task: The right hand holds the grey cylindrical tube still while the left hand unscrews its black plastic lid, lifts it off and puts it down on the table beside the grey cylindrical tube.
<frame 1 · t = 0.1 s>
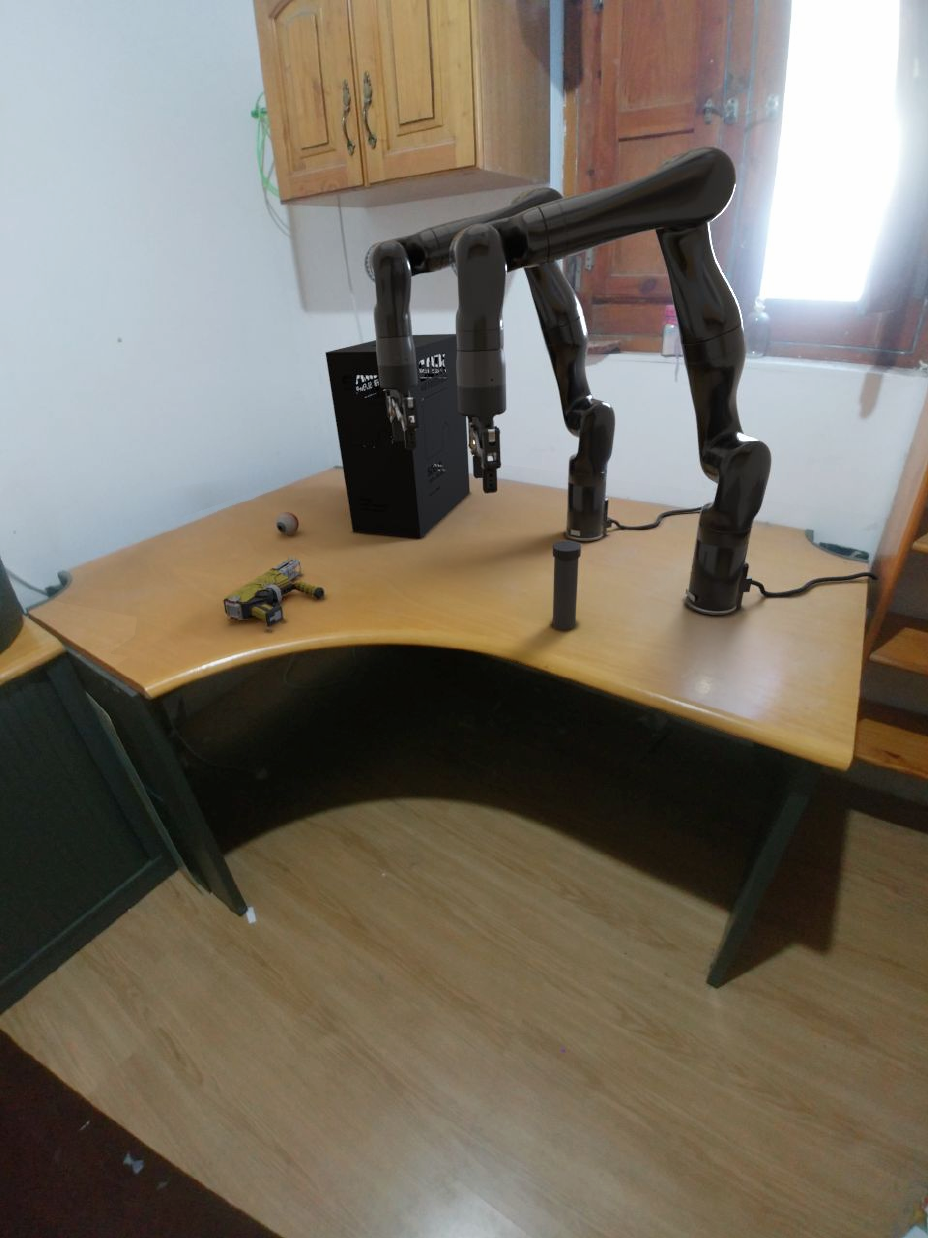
left hand: (404, 444, 126), 29 cm above the table, tool pointing down, fingers open, 8 cm apart
right hand: (484, 484, 100), 29 cm above the table, tool pointing down, fingers open, 8 cm apart
lid: (566, 547, 108), point 16 cm above the table, screwed on, not yet turned
eyeball: (289, 534, 165), on the table
grey cylindrical tube: (563, 624, 116), on the table
toy gun: (287, 600, 131), on the table
cardboard box: (415, 511, 176), on the table
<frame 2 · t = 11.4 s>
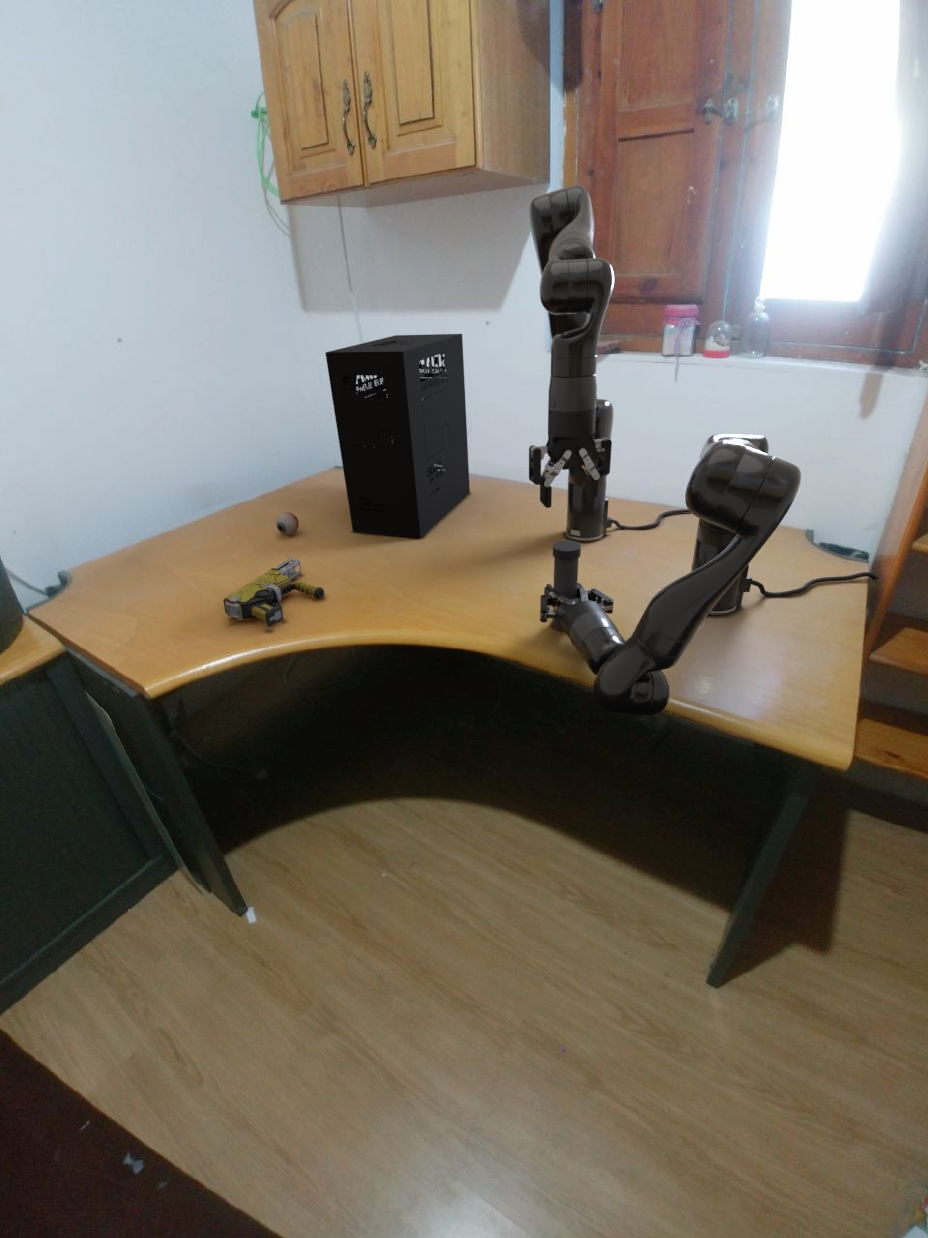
left hand: (568, 503, 104), 24 cm above the table, tool pointing down, fingers open, 7 cm apart
right hand: (560, 586, 115), 7 cm above the table, tool horizontal, fingers closed on grey cylindrical tube, 4 cm apart
grey cylindrical tube: (563, 624, 116), on the table, touching right hand
everything else where it was.
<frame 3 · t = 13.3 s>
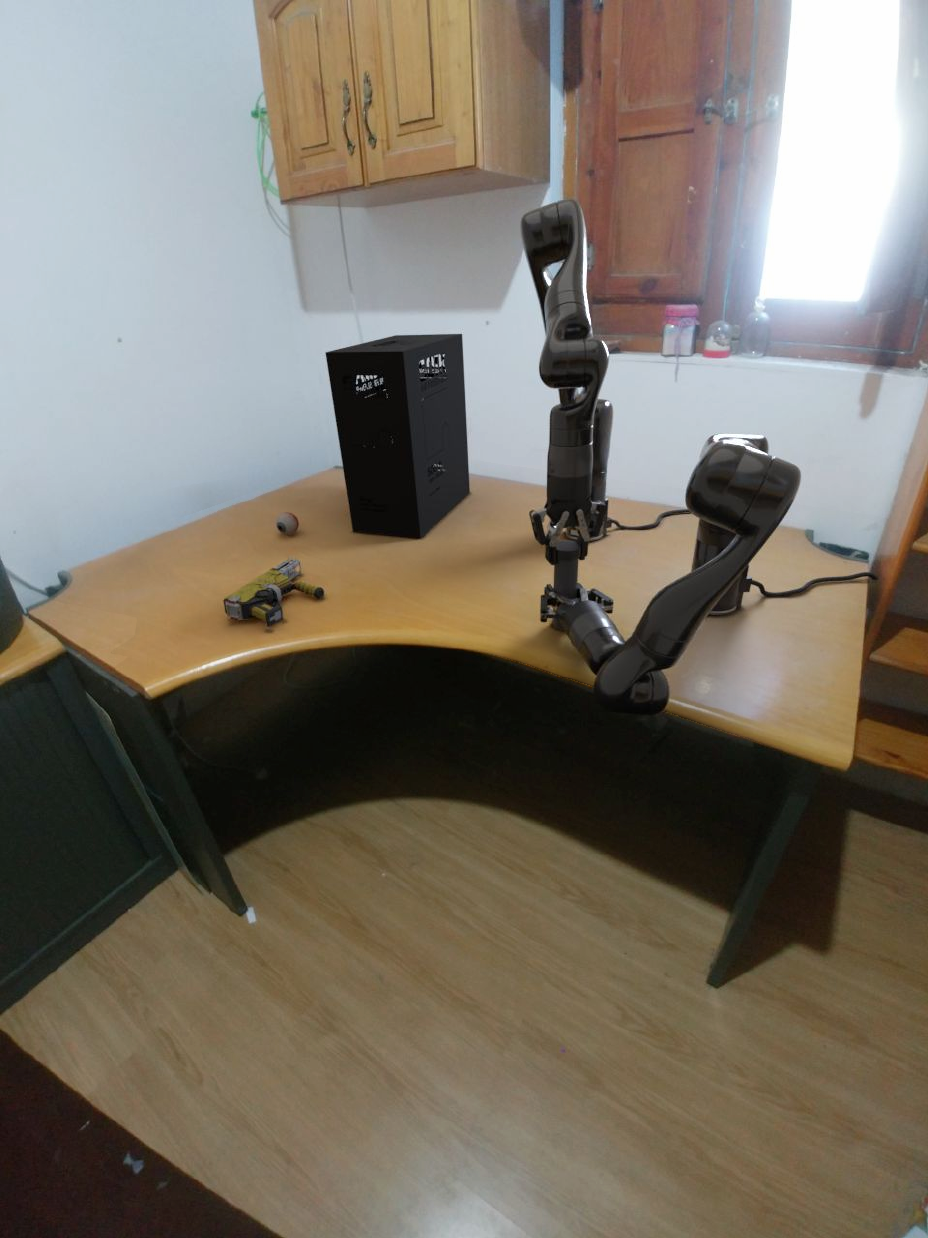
left hand: (566, 560, 110), 13 cm above the table, tool pointing down, fingers closed on lid, 5 cm apart
right hand: (560, 586, 115), 7 cm above the table, tool horizontal, fingers closed on grey cylindrical tube, 4 cm apart
lid: (566, 547, 108), point 16 cm above the table, screwed on, not yet turned, touching left hand
grey cylindrical tube: (563, 624, 116), on the table, touching right hand
everything else where it was.
when the left hand's fingers open (14 cm above the table, at t = 14.9 s): lid stays where it is, point 16 cm above the table.
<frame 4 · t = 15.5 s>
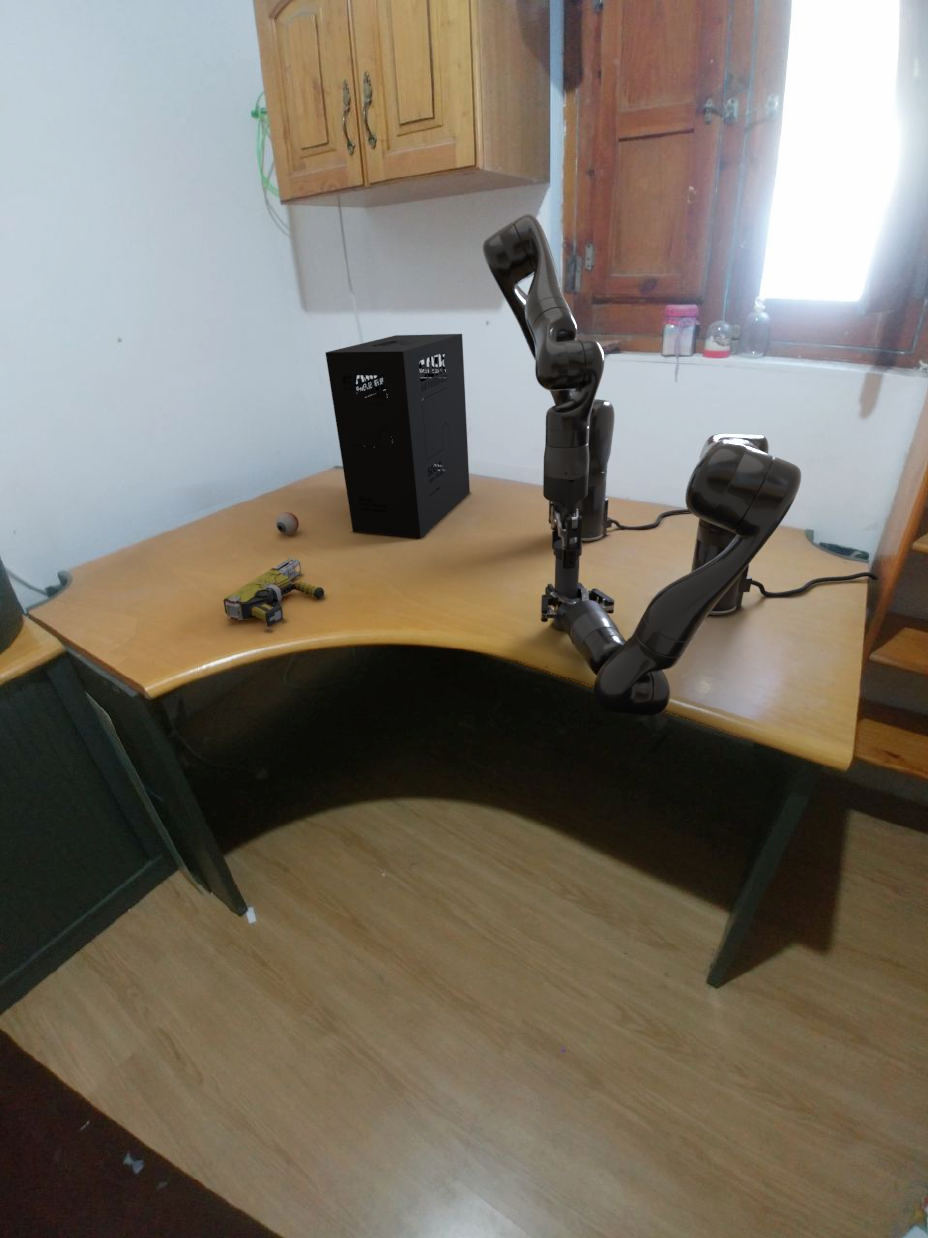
left hand: (563, 558, 110), 14 cm above the table, tool pointing down, fingers open, 7 cm apart
right hand: (561, 586, 115), 7 cm above the table, tool horizontal, fingers closed on grey cylindrical tube, 4 cm apart
lid: (567, 545, 108), point 16 cm above the table, turned 102° so far, risen 0.2 cm, still on its thread
grey cylindrical tube: (564, 624, 116), on the table, touching right hand
everything else where it was.
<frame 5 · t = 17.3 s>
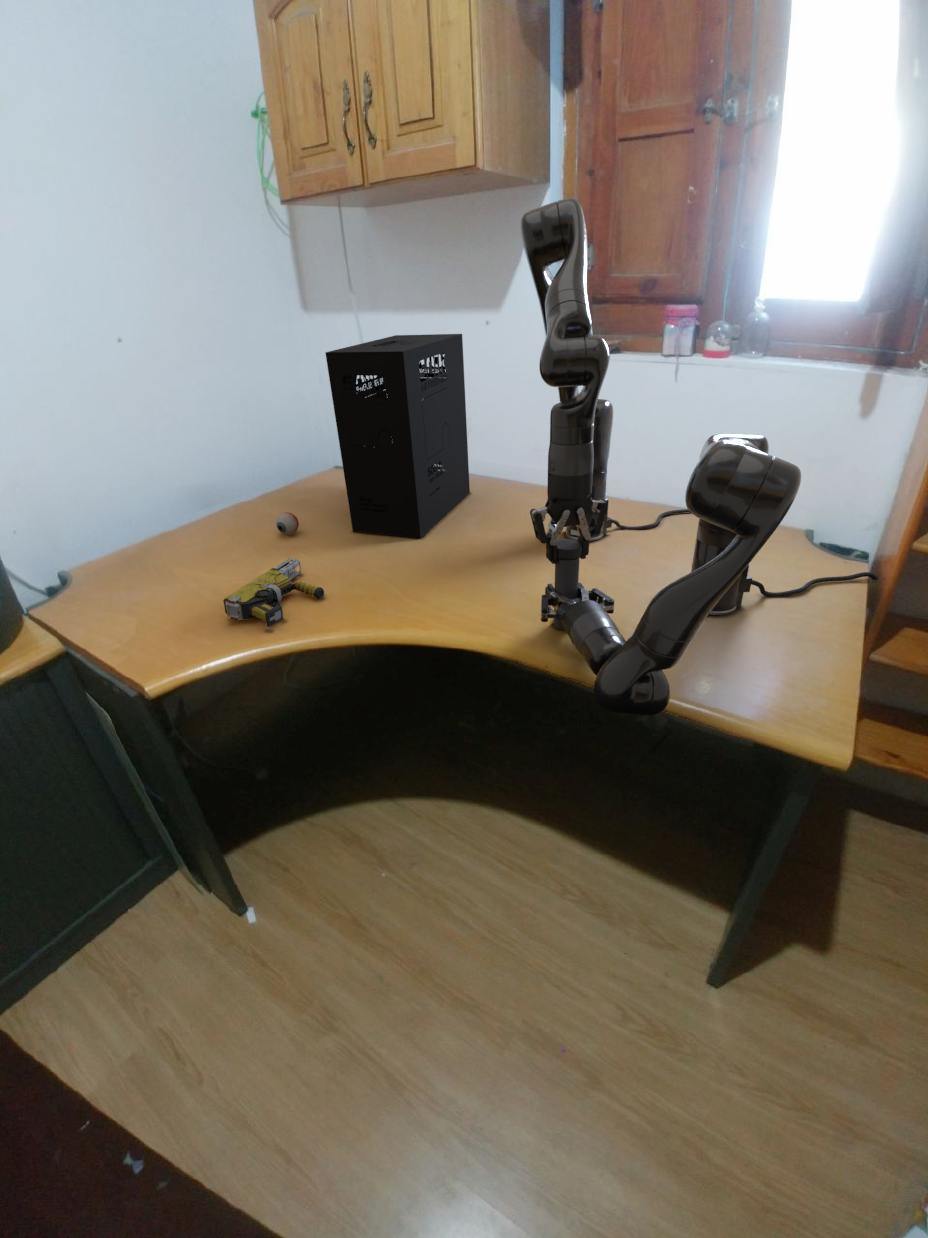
left hand: (567, 559, 110), 14 cm above the table, tool pointing down, fingers closed on lid, 5 cm apart
right hand: (561, 586, 115), 7 cm above the table, tool horizontal, fingers closed on grey cylindrical tube, 4 cm apart
lid: (567, 545, 108), point 16 cm above the table, turned 102° so far, risen 0.2 cm, still on its thread, touching left hand
grey cylindrical tube: (564, 624, 116), on the table, touching right hand
everything else where it was.
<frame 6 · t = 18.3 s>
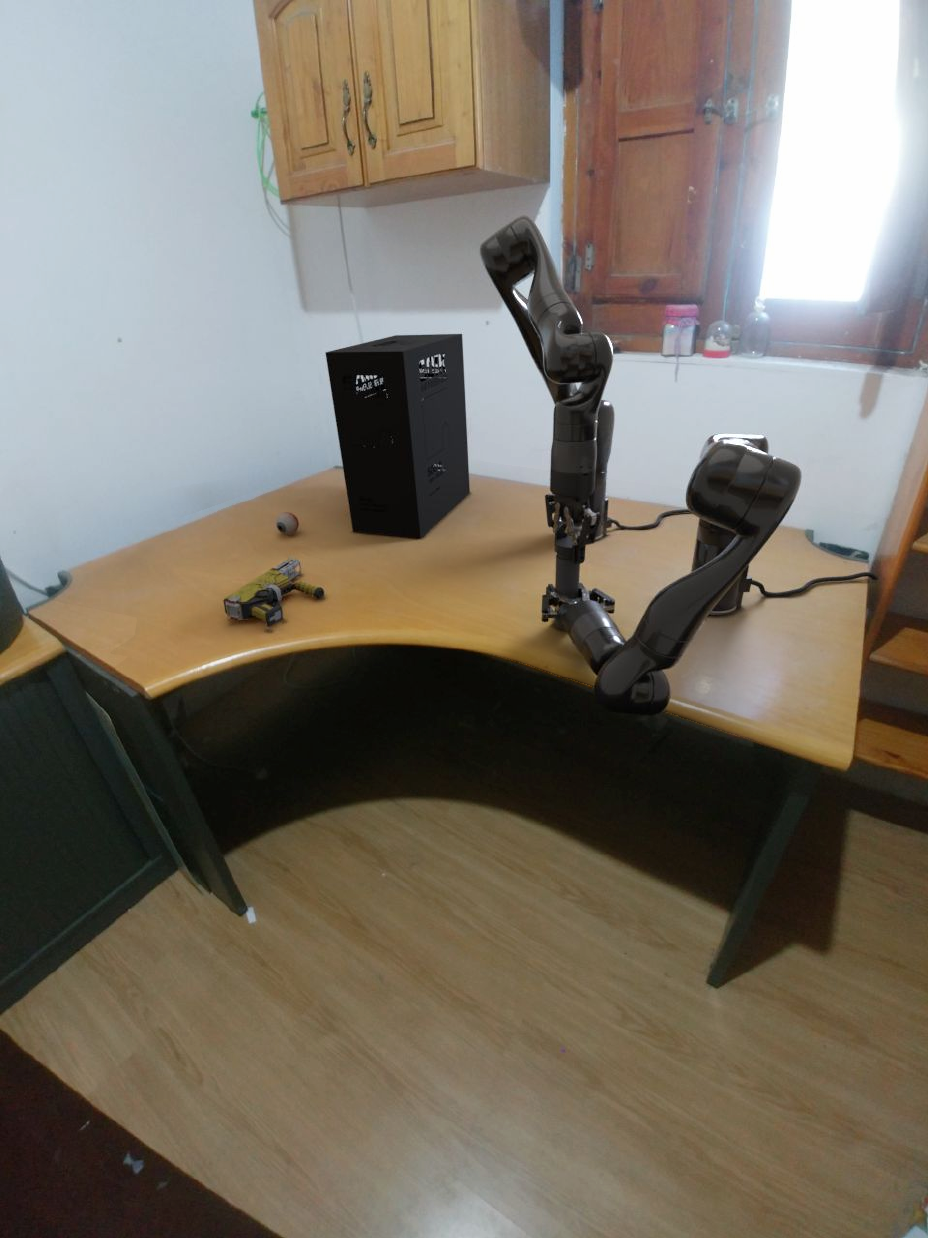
left hand: (569, 557, 109), 14 cm above the table, tool pointing down, fingers closed on lid, 5 cm apart
right hand: (562, 586, 115), 7 cm above the table, tool horizontal, fingers closed on grey cylindrical tube, 4 cm apart
lid: (569, 543, 108), point 17 cm above the table, off its thread, touching left hand
grey cylindrical tube: (565, 624, 116), on the table, touching right hand
everything else where it was.
when the left hand's fingers open (0 cm above the table, at t = 23.7 s): lid drops 2 cm, point 1 cm above the table.
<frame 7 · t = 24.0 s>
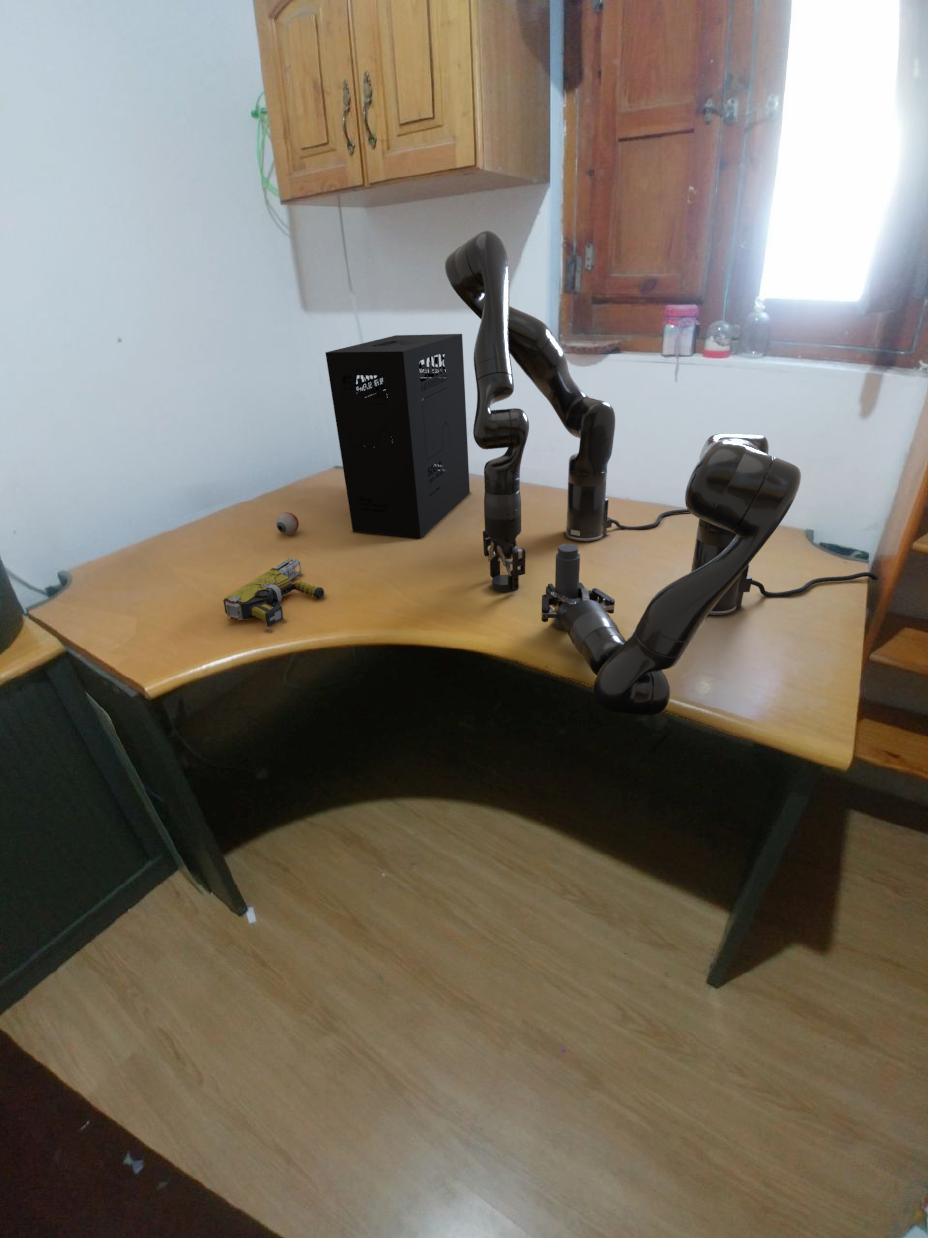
left hand: (504, 583, 131), 1 cm above the table, tool pointing down, fingers open, 7 cm apart
right hand: (562, 586, 115), 7 cm above the table, tool horizontal, fingers closed on grey cylindrical tube, 4 cm apart
lid: (503, 581, 131), point 1 cm above the table, off its thread
grey cylindrical tube: (565, 624, 117), on the table, touching right hand
everything else where it was.
when the right hand's fingers open (7 cm above the table, at t = 24.8 s): grey cylindrical tube stays where it is, on the table.
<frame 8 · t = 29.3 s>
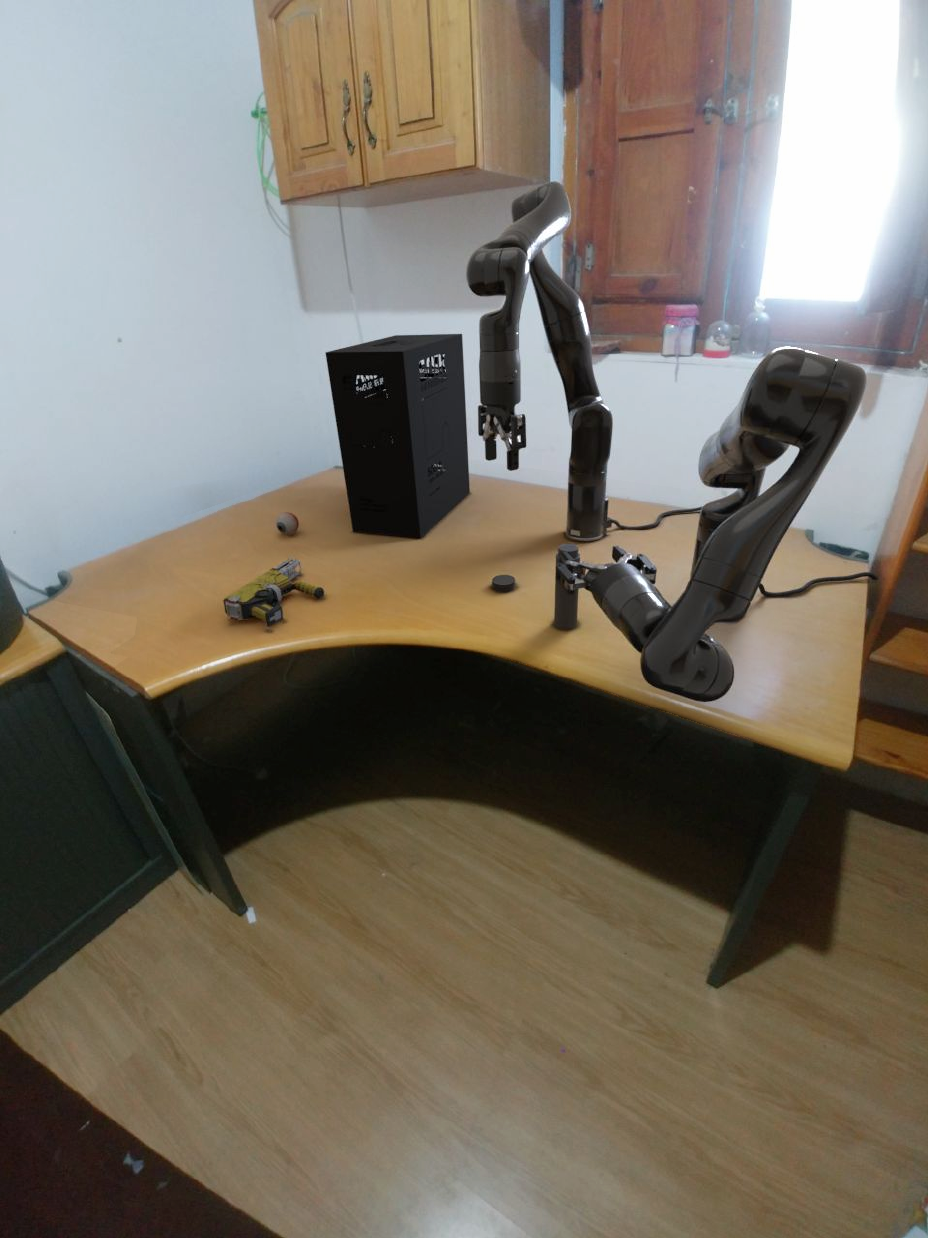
left hand: (501, 464, 118), 27 cm above the table, tool pointing down, fingers open, 8 cm apart
right hand: (588, 554, 97), 19 cm above the table, tool horizontal, fingers open, 8 cm apart
grey cylindrical tube: (565, 624, 117), on the table
everything else where it was.
at the end: lid came off its thread; lid point 1.4 cm above the table; the left hand is holding nothing; the right hand is holding nothing; grey cylindrical tube tilted 0°; grey cylindrical tube moved 0.3 cm from its start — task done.
